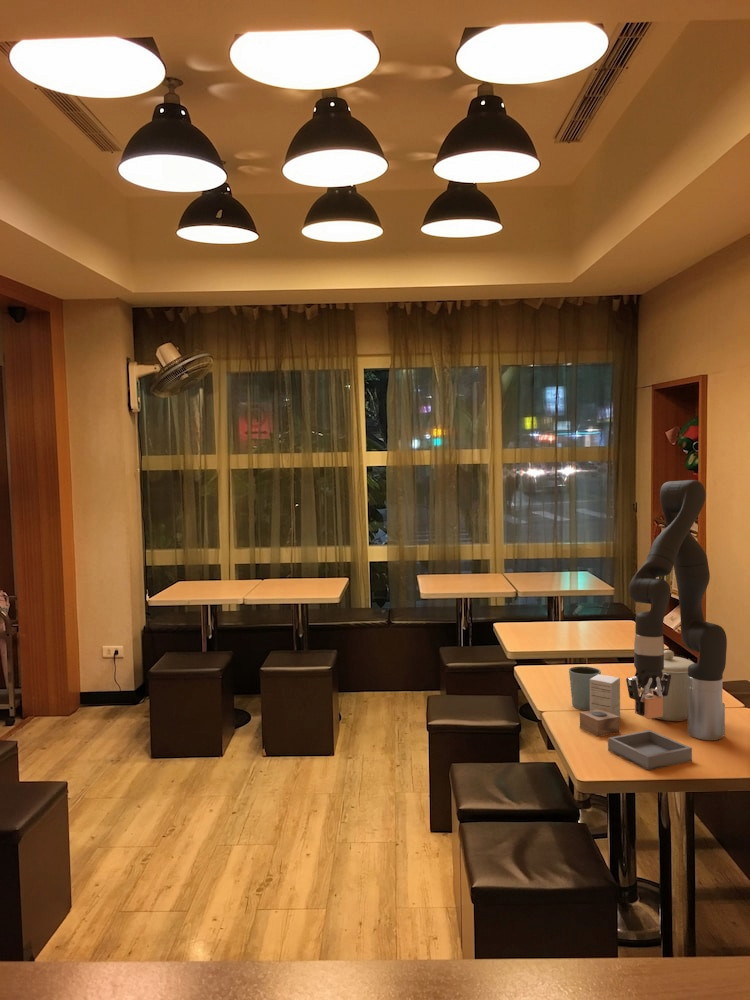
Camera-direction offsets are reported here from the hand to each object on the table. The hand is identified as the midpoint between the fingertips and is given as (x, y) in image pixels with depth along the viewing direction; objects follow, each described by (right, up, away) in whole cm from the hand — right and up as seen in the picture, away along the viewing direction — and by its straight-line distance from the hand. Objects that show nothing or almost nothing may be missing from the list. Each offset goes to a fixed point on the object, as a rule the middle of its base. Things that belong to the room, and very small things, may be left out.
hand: (648, 713), depth 191 cm
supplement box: (-2, -11, +31) cm, 33 cm away
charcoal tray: (0, -12, 0) cm, 12 cm away
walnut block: (-7, -11, +20) cm, 24 cm away
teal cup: (-5, -11, +43) cm, 44 cm away
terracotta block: (0, 0, 0) cm, 0 cm away
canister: (+18, -11, +32) cm, 38 cm away
